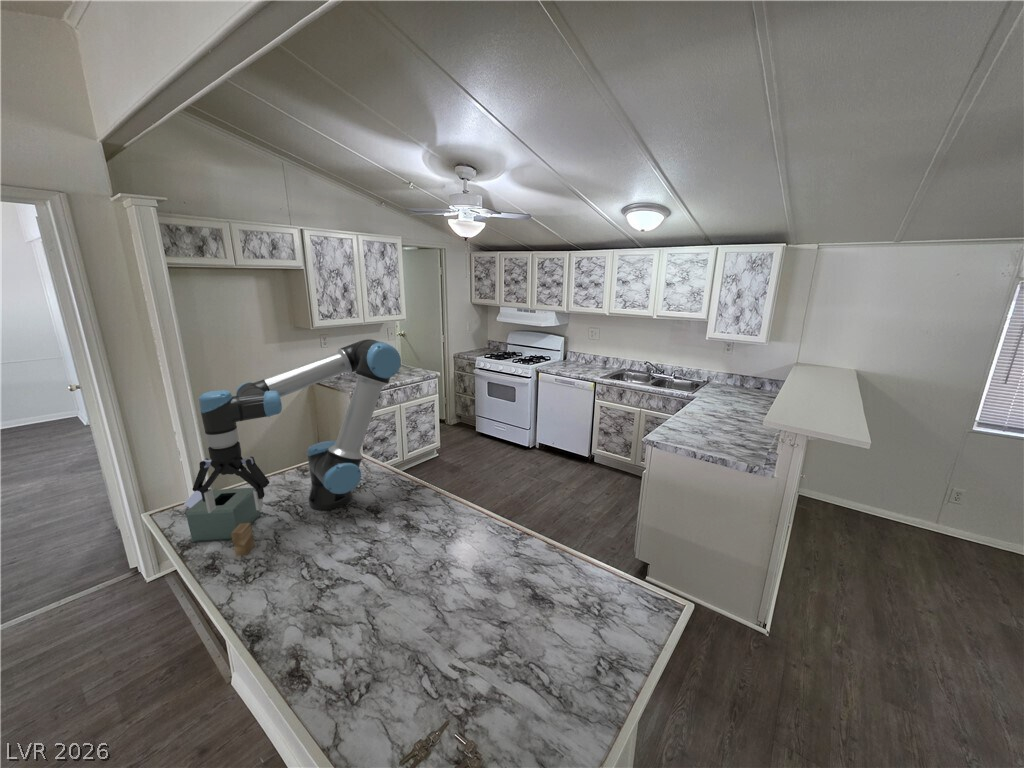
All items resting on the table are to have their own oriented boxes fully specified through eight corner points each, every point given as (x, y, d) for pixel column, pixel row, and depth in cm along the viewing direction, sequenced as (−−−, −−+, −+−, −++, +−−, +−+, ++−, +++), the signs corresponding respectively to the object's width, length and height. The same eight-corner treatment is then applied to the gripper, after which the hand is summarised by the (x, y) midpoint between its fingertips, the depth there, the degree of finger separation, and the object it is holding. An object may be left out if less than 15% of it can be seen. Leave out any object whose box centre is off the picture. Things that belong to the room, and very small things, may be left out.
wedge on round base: (185, 513, 145) (206, 522, 140) (181, 496, 144) (202, 504, 138) (212, 501, 153) (232, 509, 148) (208, 485, 151) (229, 492, 146)
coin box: (260, 515, 144) (255, 487, 141) (238, 539, 130) (232, 509, 127) (218, 517, 142) (212, 489, 139) (192, 542, 129) (185, 512, 126)
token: (254, 544, 128) (250, 523, 126) (246, 555, 123) (241, 532, 121) (244, 545, 127) (240, 523, 125) (235, 556, 122) (231, 533, 120)
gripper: (275, 437, 121) (284, 500, 126) (186, 440, 118) (199, 504, 123) (263, 447, 114) (273, 513, 119) (167, 450, 111) (183, 518, 116)
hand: (236, 509), depth 121 cm, fingers open, 13 cm apart
